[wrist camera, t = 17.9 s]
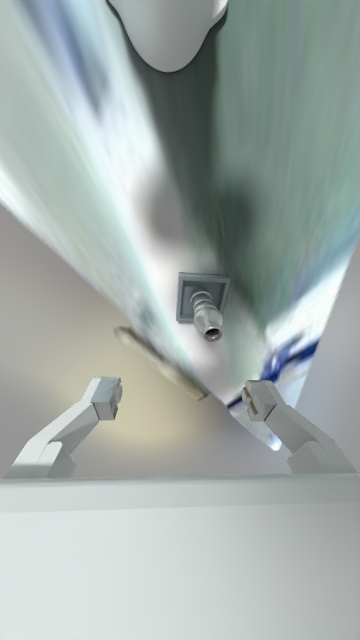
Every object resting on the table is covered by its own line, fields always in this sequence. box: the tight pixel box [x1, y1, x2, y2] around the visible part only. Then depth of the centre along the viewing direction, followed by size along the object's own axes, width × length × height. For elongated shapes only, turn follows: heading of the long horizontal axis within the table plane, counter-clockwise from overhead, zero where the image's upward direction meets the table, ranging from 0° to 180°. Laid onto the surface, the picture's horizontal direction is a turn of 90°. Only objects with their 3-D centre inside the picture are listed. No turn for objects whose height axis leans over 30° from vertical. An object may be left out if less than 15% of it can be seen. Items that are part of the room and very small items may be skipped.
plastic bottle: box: [189, 288, 223, 342], centre depth 39 cm, size 6×7×20 cm
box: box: [176, 272, 231, 322], centre depth 47 cm, size 14×14×4 cm
